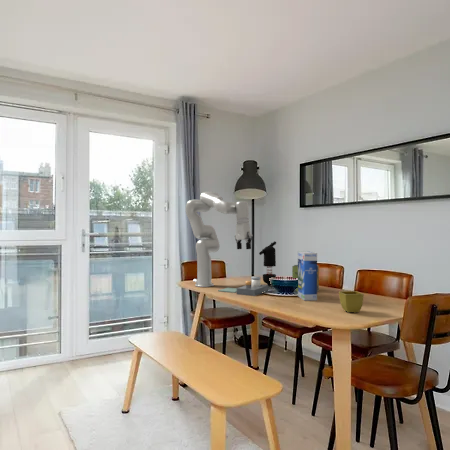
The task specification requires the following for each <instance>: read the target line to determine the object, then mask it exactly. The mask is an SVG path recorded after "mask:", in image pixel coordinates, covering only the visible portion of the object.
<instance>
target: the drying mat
mask: <svg viewBox="0 0 450 450" xmlns="http://www.w3.org/2000/svg"><path fill="white" fill-rule="evenodd" d="M237 288H238V287H236V288H234V287H225V288H222V289H218V290H217V291H218V292H221V293H223V292H224V293H231V294H233V293H234V294H235V293H236V294H237Z"/></svg>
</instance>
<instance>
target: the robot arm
mask: <svg viewBox="0 0 450 450" xmlns="http://www.w3.org/2000/svg"><path fill="white" fill-rule="evenodd" d="M212 209H214V210H216V212H219V213H221V214H224V215H235V216H236V225H235V235H234V238H235V243H236V250H242V249H243V247H242V246H243V245H242V241H243V240H245V247H246V250H251V249H252V240H253V234H252V233H251V226H250V220H249V219H250V217H249V203H248V201H245V200H239V201H237V202H233V201H225V200H223V197H222V196H221V195H220V194H219V193H218V192H216V191H215V192H214V191H203V192H201V194H200V196H199V199H190V200H188V201H187V202H186V204H185V214H186V216H187V218H188V221H189V223H190V226H191V230H192V233H193V236H194V237H195V239H199V240H198V241H197V242H196V243H195V251H196V257H197V258H196V259H197V261H196V263H197V265H196V266H197V268H196V269H197V272H196V273H197V275H196V276H197V278H194V279H193V283H195V284H194V286H195V287H198V288H209V287H214V286H215V284H214V283H212V258H211V255H210V254H212V253H217V252H219V249H220V241H219V238H218V235H217V233H216V229H215V227H213V226H212V225H211V224H205V223H204V222H203V219H202V217H201V216H200V214H199V213H207V212H209V211H211V210H212Z"/></svg>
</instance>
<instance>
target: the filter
mask: <svg viewBox="0 0 450 450" xmlns="http://www.w3.org/2000/svg"><path fill="white" fill-rule="evenodd" d="M276 244H277V241H273V242H270V244H268V246H265V247H264V248H262V250H261V251H260V252H259V253H258V254H259V256H261V255H263V267H266V269H267V273H264V274H262V280H263V282H264V283H265V284H266V285H269V287H271V286H272V284H270V281H269V278H271V277H276V278H277V275H276V274H275V273H272V269H273V267H276V266H277V263H276V261H277V260H276V255H277V254H276V248H275V247H274V246H275V245H276Z"/></svg>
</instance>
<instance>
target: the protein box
mask: <svg viewBox="0 0 450 450" xmlns="http://www.w3.org/2000/svg"><path fill="white" fill-rule="evenodd" d="M319 267H320V266H319V265H318V264H317V293H318V292H319V290H320V283H319V281H320V279H319V273H320V272H319V271H320V270H319ZM291 269H292V278H298V264H294V265H292V268H291ZM295 292H298V288H297V289H296V291H295Z"/></svg>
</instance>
